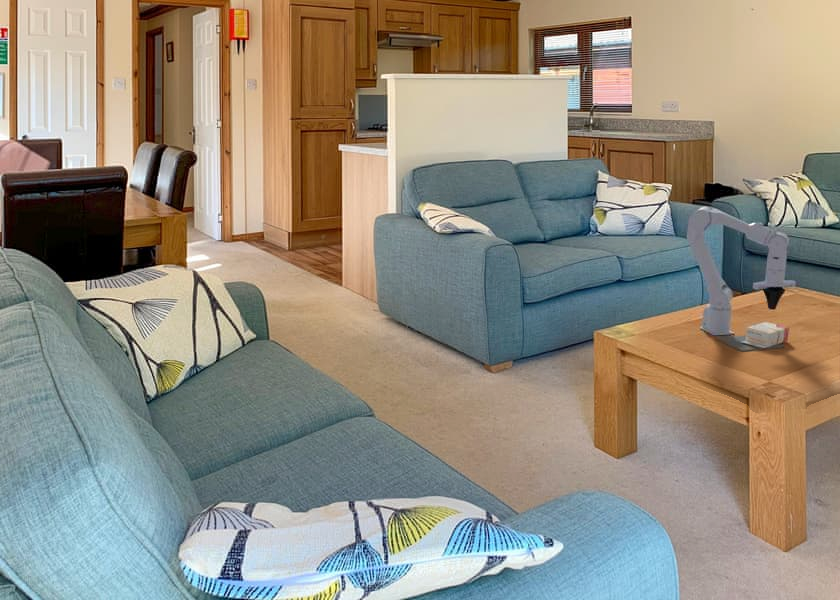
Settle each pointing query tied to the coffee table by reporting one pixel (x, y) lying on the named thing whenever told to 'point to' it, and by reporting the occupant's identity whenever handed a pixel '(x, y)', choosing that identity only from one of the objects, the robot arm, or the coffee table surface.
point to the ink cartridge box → (766, 335)
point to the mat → (744, 344)
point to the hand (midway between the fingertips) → (771, 308)
